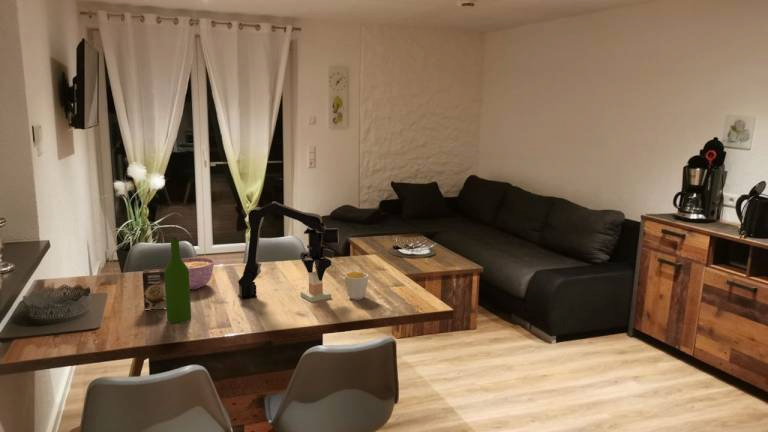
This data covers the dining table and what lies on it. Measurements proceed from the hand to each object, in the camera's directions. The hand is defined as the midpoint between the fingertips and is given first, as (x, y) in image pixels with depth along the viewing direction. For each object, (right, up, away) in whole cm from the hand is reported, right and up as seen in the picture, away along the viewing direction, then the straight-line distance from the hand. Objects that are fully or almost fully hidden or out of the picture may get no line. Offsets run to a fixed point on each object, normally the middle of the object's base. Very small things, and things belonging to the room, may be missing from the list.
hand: (315, 278), depth 257 cm
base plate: (0, -9, +2) cm, 9 cm away
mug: (+17, -9, +3) cm, 20 cm away
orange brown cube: (0, -7, +1) cm, 7 cm away
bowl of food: (-59, -6, +15) cm, 61 cm away
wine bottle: (-50, -14, -27) cm, 59 cm away
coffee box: (-64, -11, -14) cm, 67 cm away
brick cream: (0, -2, 0) cm, 2 cm away
